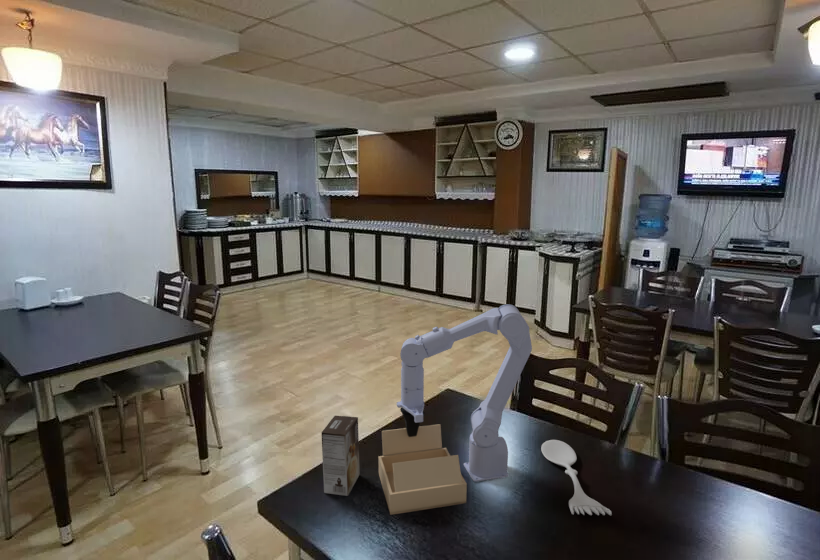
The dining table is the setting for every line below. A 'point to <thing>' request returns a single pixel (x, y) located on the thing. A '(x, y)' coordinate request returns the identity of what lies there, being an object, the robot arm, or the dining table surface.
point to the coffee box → (340, 455)
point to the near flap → (426, 473)
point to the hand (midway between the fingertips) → (412, 435)
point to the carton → (422, 496)
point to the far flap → (411, 440)
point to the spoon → (566, 457)
